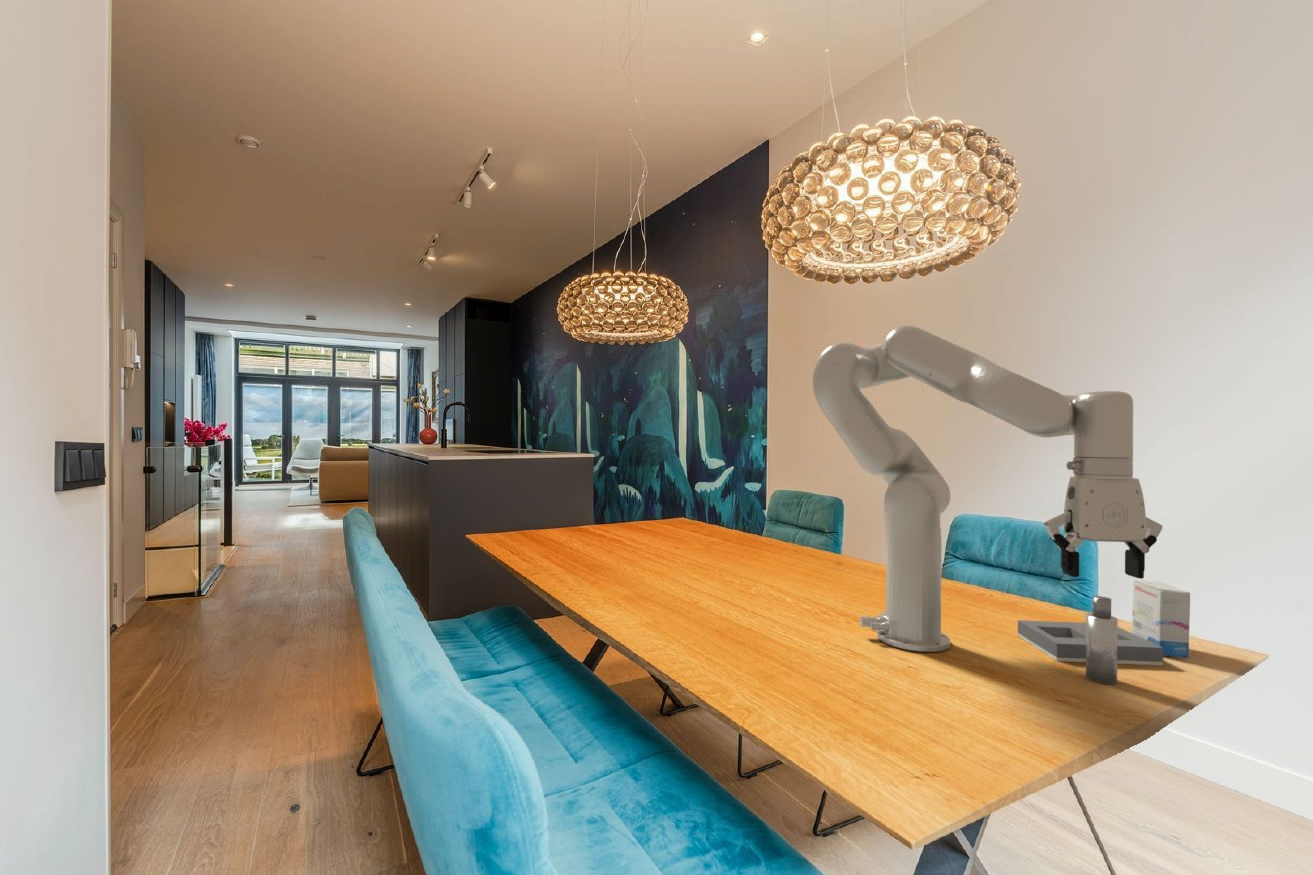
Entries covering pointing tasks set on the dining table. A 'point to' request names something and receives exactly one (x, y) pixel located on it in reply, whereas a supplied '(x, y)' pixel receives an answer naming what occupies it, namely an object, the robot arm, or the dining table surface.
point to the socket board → (1071, 643)
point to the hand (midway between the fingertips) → (1102, 575)
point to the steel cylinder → (1101, 642)
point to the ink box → (1162, 616)
